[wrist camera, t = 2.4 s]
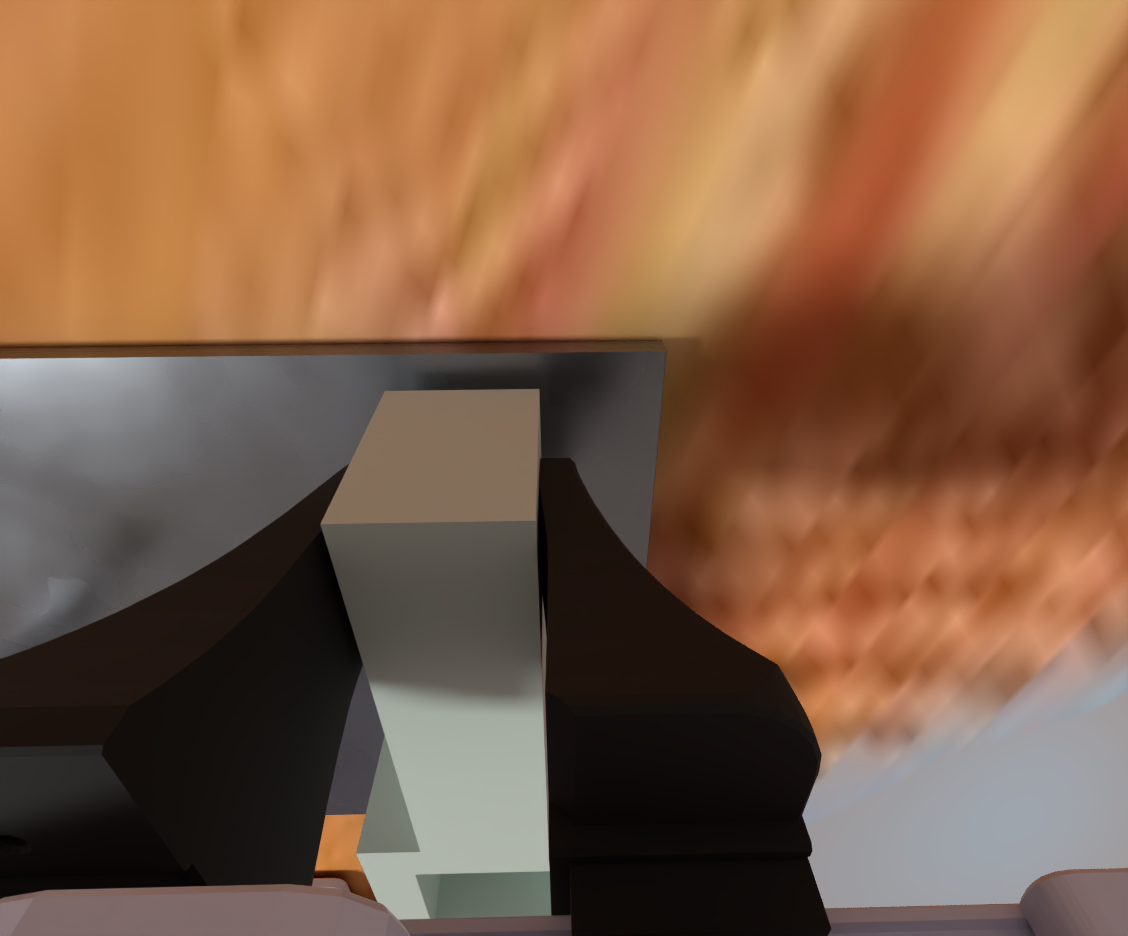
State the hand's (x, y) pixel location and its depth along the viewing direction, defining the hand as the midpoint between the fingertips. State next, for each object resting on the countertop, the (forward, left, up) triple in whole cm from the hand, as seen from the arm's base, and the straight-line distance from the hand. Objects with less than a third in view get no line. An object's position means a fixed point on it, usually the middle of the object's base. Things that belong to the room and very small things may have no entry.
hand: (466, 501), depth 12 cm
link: (-6, 0, -1) cm, 6 cm away
